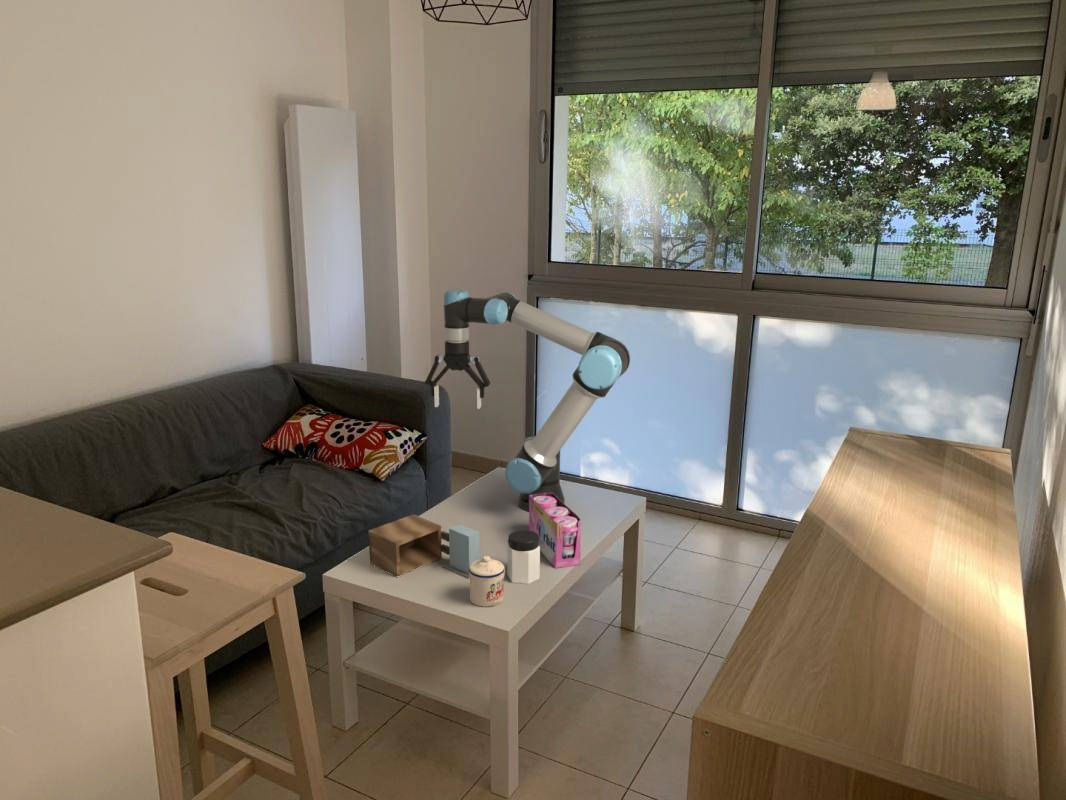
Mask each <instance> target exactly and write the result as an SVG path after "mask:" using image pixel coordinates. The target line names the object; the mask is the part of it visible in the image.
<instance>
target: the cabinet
mask: <svg viewBox="0 0 1066 800" xmlns="http://www.w3.org/2000/svg"><path fill="white" fill-rule="evenodd" d="M442 540H444V541H446V542H449V532H446V531H445V530H444V531H443V530H442V525H440V524H437V523H435V522H433V521H431V520H429V519H425V518H424V517H422V516H419V515H417V514H414V513H412V514H411V515H408V516H405V517H402V518H399V519H397V520H394V521H392V522H388V523H385V524H383V525H380V526H378V527H375V528H372V529H369V530H368V548H369V565H371V564H372V565H371V566H373V565H375V566H376V568H377V567H378V569H379V568H380V570H381V569H382V570H381V571H383V570H384V571H383V572H385V571H387V572H389V573H391V574H393V575H395V576H400V575H402V574H404V573H406V574H408V573H407V572H409V571H411V570H413V569H416V568H418V567H420V566H423V565H425V566H427V565H429V564H428V563H430V564H431V562H432V563H434V562H436V561H435V560H437V561H439V560H442V555H443V553H444V554H446V555H448V556H450V554H449V546H448V545H447V544H442ZM438 559H439V560H438ZM433 561H434V562H433ZM426 564H427V565H426ZM375 566H374V567H375ZM423 567H424V566H423ZM444 567H445V568H444ZM420 568H421V567H420ZM442 568H444V569H446V568H447V569H446V570H448V569H449V570H448V571H450V570H451V571H450V572H452V571H454V572H456V573H455V574H457V575H459V574H460V575H459V576H461V575H462V576H461V577H463V576H464V577H463V578H465V577H466V578H465V579H468V578H469V579H470V574H468V573H466V572H464V571H461V570H459V569H457V568H455V567H453V566H451V565H450V562H449V563H447V564H444V565H443V566H442ZM418 569H419V568H418ZM416 570H417V569H416ZM413 571H414V570H413ZM387 572H386V573H387ZM411 572H412V571H411ZM454 572H453V573H454ZM389 573H388V574H389ZM409 573H410V572H409ZM391 574H390V575H391ZM393 575H392V576H393ZM404 575H405V574H404ZM395 576H394V577H395ZM402 576H403V575H402ZM400 577H401V576H400Z"/></svg>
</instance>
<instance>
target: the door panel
mask: <svg viewBox="0 0 1066 800" xmlns="http://www.w3.org/2000/svg"><path fill="white" fill-rule="evenodd" d="M448 533H449V543H448V545H449V554H450V555H449V563H450V565H451V566H453V567H455V568H457V569H459V570H461V571H464V572H466V573H468V574H470V572H469V566H470V565H471V564H472V563H473V562H474V561H477V560H480V559H481V542H480V541H481V540H480V539H481V536H480V535H481V532H480V531H477V530H475V529H474V528H470V527H469V526H468V527H467V526H466V525H463V524H461V523H459V524H457V525H455V526H451V527H449V528H448Z"/></svg>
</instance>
